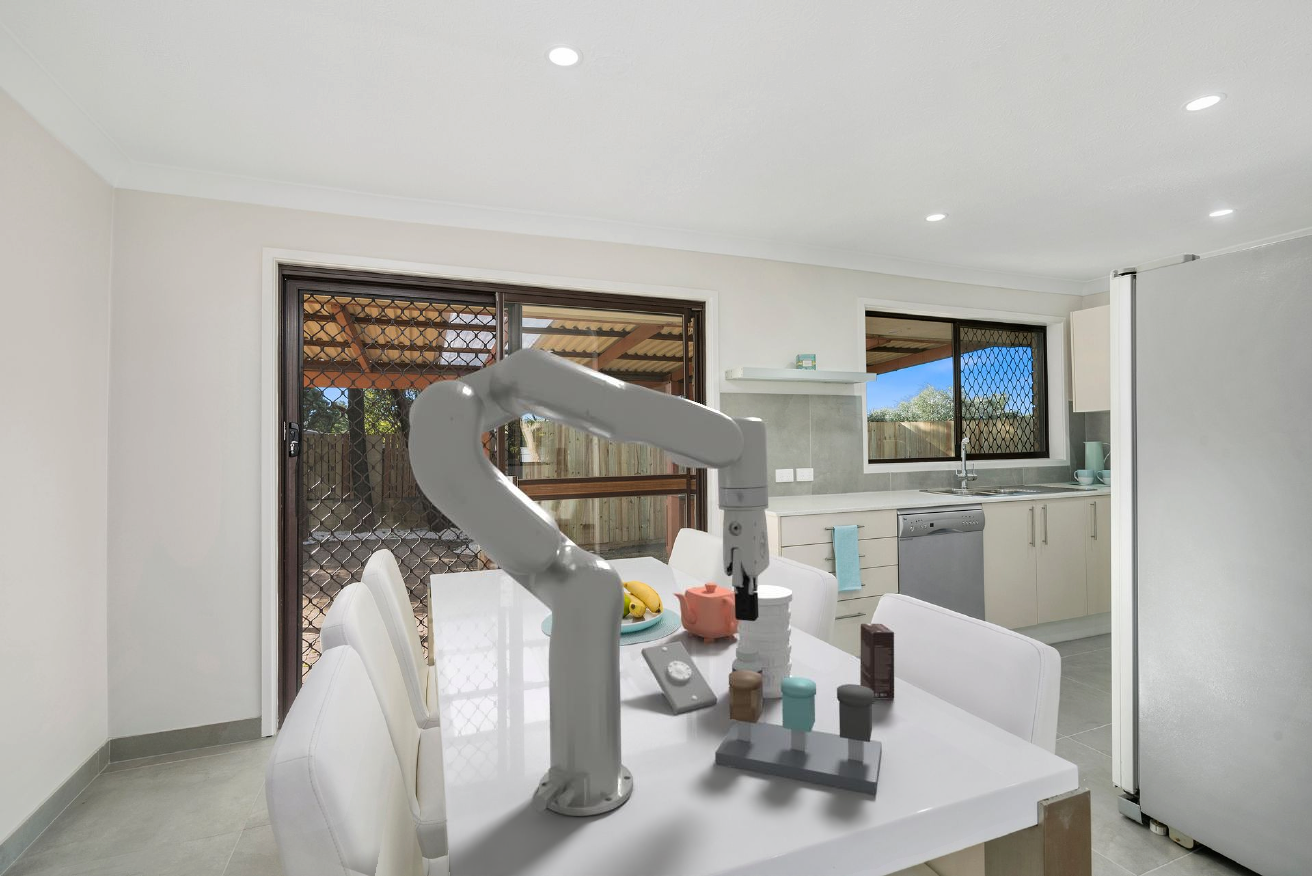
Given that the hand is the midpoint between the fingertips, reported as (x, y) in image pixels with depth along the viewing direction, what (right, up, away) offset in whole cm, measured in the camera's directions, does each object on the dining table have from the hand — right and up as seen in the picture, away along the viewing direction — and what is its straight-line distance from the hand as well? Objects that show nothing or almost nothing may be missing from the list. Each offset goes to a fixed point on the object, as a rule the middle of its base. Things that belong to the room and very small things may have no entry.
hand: (746, 618), depth 95 cm
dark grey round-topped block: (+15, -14, -7) cm, 21 cm away
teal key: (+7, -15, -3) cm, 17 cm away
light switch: (-10, -20, +20) cm, 30 cm away
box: (+27, -20, +20) cm, 39 cm away
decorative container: (+7, -20, +24) cm, 32 cm away
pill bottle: (+2, -20, +16) cm, 26 cm away
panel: (+7, -19, -3) cm, 21 cm away
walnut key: (0, -15, 0) cm, 15 cm away
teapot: (0, -20, +55) cm, 59 cm away
